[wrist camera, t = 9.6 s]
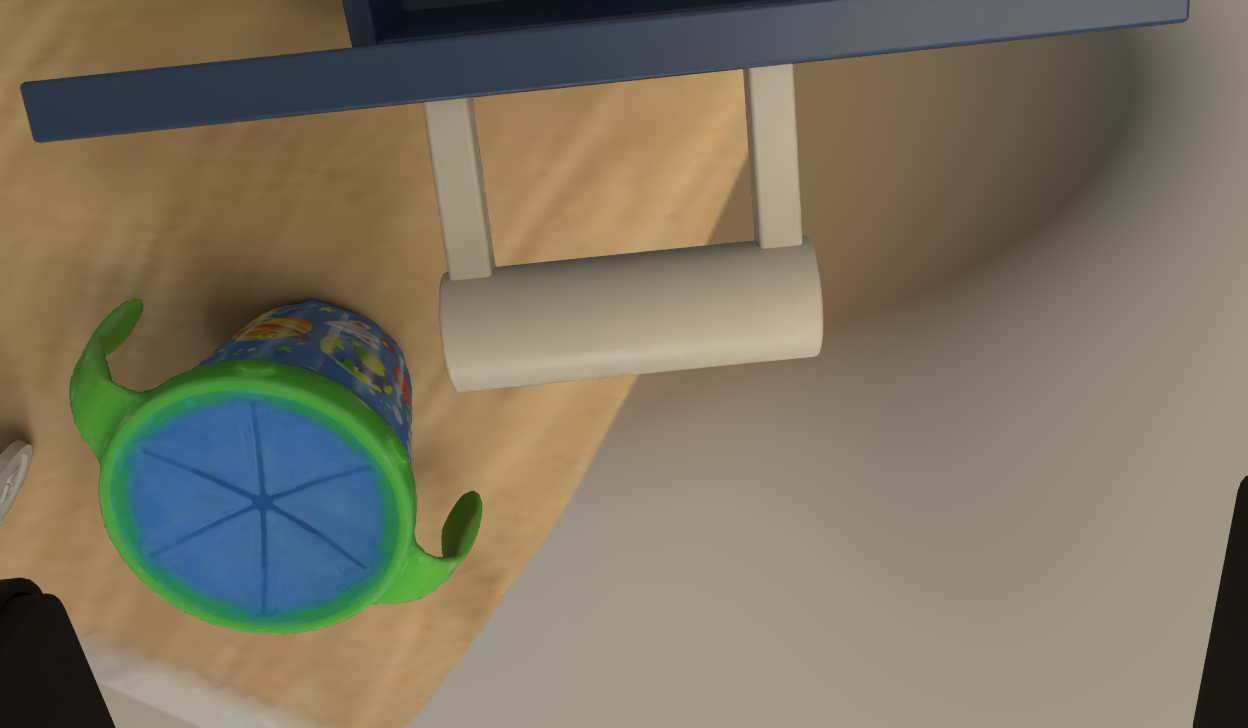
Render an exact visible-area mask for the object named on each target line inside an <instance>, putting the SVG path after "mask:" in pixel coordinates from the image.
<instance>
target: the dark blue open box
mask: <svg viewBox="0 0 1248 728" xmlns="http://www.w3.org/2000/svg"><path fill="white" fill-rule="evenodd" d="M785 1H795V0H342V2H343V6H344V11H345V16H346V21H347V26H348V30H349V35H350V40H351V45H352V47H361V46H371V45H380V44H389V43H399V42H408V41H418V40H427V39H437V38H446V37H455V36H465V35H474V34H484V33H493V32H503V31H512V30H521V29H531V28H540V27H550V26H559V25H569V24H578V23H587V22H597V21H606V20H616V19H625V18H634V17H644V16H653V15H663V14H672V13H682V12H691V11H700V10H710V9H719V8H729V7H738V6H748V5H757V4H766V3H776V2H785Z"/></svg>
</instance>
